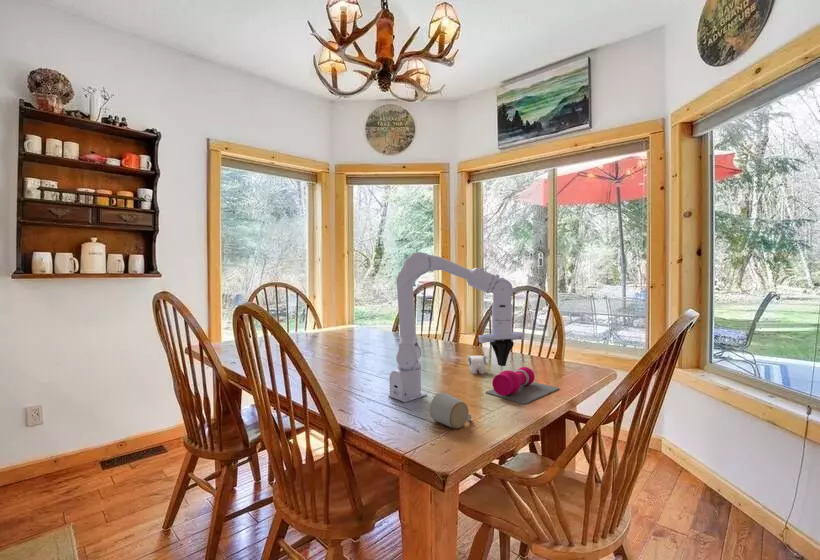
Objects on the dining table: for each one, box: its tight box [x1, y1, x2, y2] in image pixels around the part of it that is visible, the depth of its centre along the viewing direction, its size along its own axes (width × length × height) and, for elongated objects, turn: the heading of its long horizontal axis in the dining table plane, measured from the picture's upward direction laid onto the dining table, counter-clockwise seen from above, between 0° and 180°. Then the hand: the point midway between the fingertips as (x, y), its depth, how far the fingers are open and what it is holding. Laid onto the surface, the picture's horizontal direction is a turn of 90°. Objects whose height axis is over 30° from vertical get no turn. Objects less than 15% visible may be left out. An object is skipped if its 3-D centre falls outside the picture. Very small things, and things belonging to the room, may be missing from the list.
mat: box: [485, 381, 560, 405], centre depth 129 cm, size 20×14×1 cm
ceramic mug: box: [429, 392, 472, 429], centre depth 104 cm, size 10×8×7 cm
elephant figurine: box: [467, 353, 490, 375], centre depth 152 cm, size 8×10×7 cm
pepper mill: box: [491, 366, 536, 396], centre depth 129 cm, size 7×7×20 cm
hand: (501, 365), depth 121 cm, fingers closed
